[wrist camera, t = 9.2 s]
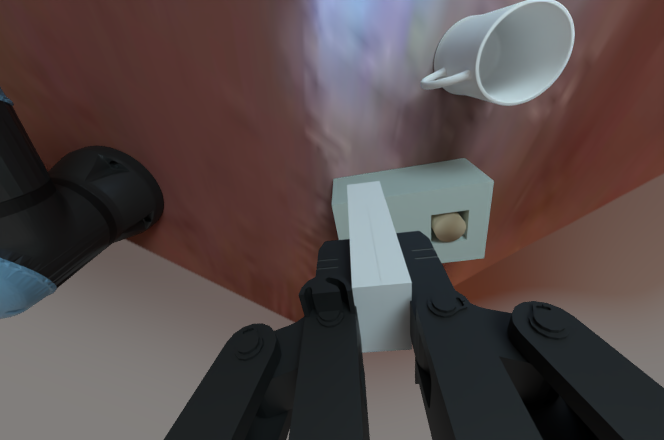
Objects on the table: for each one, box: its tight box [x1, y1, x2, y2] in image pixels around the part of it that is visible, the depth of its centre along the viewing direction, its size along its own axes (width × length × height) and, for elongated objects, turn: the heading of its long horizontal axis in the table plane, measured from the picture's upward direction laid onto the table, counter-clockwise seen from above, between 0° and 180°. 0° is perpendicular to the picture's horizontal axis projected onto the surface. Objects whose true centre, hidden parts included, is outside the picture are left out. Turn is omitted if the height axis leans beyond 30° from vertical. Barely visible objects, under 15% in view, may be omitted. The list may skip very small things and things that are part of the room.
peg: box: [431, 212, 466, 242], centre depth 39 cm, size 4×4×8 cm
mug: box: [421, 0, 575, 106], centre depth 29 cm, size 12×8×12 cm
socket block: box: [332, 158, 494, 263], centre depth 41 cm, size 20×12×9 cm, turn 100°
